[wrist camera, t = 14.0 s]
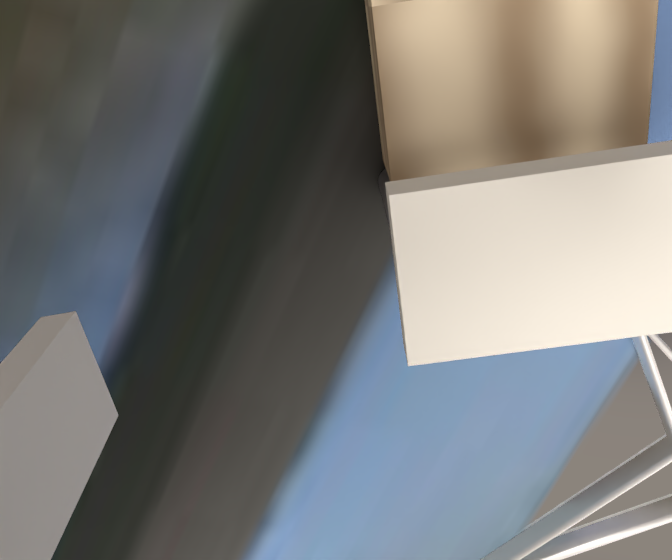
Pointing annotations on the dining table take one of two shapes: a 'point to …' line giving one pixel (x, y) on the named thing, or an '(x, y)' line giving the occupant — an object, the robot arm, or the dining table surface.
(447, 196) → the miniature white table
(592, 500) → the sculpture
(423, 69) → the socket block
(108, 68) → the dining table surface
